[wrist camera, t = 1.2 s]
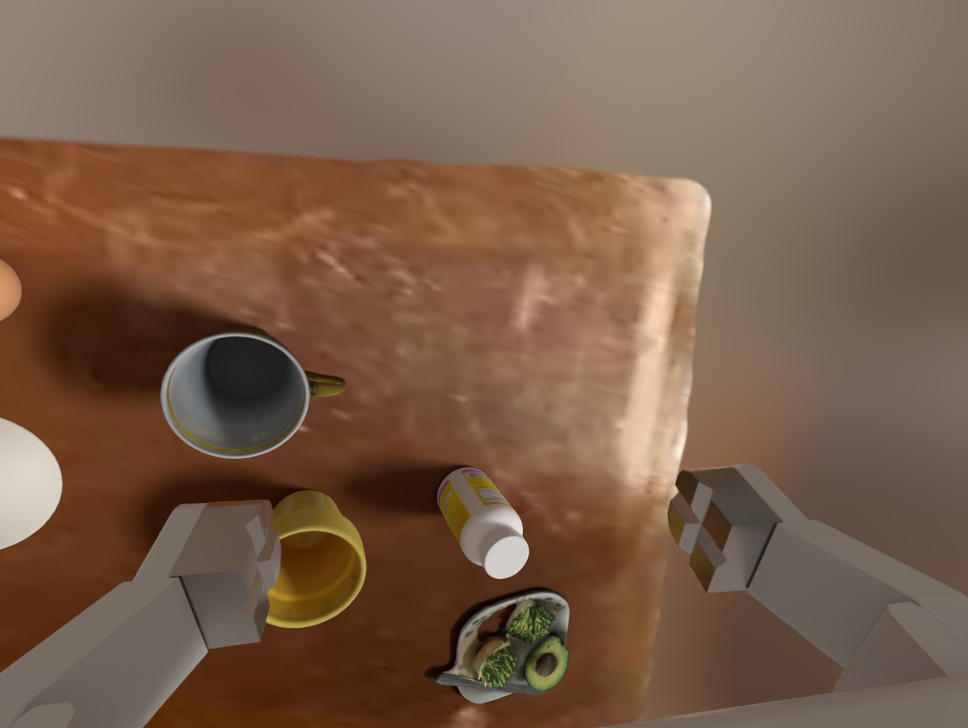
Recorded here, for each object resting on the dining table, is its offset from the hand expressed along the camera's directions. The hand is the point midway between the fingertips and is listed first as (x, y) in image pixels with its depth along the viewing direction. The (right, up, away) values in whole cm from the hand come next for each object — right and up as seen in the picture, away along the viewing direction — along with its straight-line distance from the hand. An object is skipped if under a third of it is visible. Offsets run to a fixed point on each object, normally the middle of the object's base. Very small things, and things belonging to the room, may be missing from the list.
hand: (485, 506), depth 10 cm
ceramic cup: (-21, +3, +36) cm, 42 cm away
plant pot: (-19, -13, +42) cm, 48 cm away
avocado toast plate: (+4, -36, +58) cm, 69 cm away
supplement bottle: (-3, -12, +48) cm, 50 cm away
